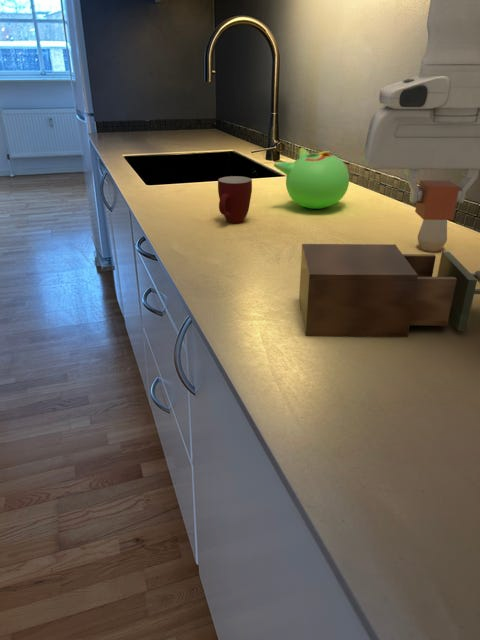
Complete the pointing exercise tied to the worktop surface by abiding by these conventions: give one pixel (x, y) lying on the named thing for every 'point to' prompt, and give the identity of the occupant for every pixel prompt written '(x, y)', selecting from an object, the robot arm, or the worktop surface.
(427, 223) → the salt shaker
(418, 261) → the drawer
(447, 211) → the block
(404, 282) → the cabinet
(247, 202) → the mug
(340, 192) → the toy bird
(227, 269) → the worktop surface
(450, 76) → the robot arm
